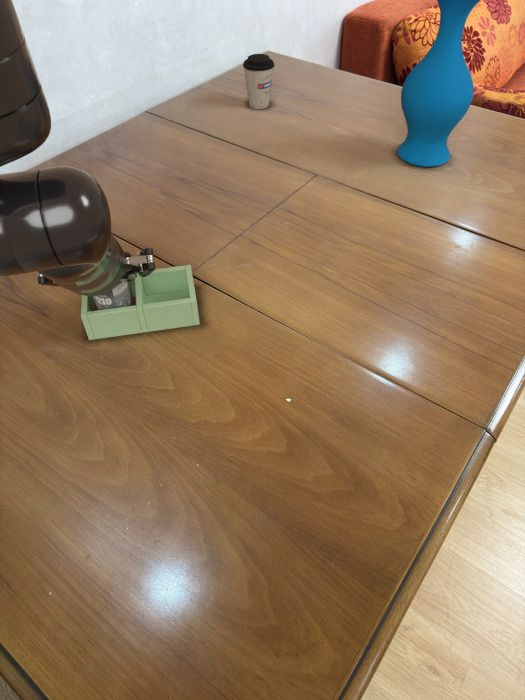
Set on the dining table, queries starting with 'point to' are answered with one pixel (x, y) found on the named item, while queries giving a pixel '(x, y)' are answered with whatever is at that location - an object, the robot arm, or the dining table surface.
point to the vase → (437, 90)
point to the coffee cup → (258, 79)
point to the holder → (146, 306)
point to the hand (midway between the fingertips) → (109, 275)
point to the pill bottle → (115, 297)
